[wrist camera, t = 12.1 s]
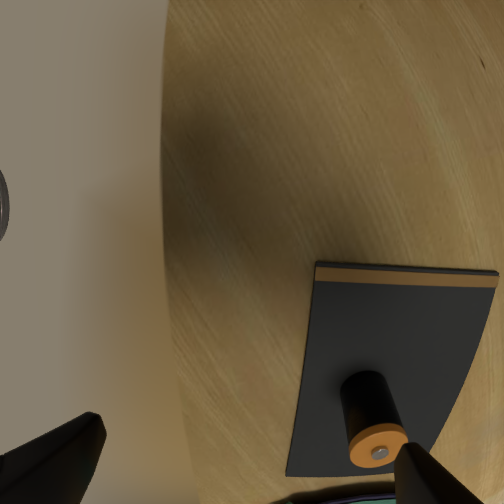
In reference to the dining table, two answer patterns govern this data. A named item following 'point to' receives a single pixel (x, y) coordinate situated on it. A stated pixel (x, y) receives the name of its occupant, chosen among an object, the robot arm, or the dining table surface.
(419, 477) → the robot arm
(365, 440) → the battery
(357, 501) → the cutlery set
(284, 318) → the dining table surface
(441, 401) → the desk mat
